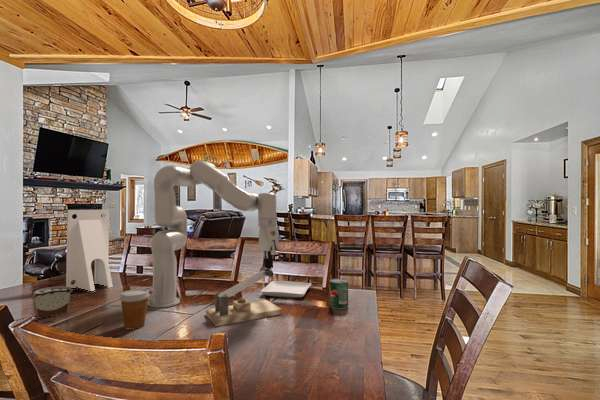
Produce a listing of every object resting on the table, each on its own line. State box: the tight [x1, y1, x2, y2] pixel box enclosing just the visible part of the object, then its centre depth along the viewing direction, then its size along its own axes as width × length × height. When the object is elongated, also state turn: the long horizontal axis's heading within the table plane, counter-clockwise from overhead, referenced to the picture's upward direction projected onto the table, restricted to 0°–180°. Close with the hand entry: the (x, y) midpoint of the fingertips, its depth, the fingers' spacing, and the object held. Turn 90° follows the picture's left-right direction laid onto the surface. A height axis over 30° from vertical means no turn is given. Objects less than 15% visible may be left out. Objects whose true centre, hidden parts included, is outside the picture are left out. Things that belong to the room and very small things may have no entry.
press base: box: [205, 291, 283, 327], centre depth 127 cm, size 26×14×9 cm, turn 121°
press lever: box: [217, 266, 274, 300], centre depth 128 cm, size 23×8×2 cm, turn 121°
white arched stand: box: [65, 209, 114, 292], centre depth 167 cm, size 20×14×40 cm
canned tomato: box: [329, 278, 349, 310], centre depth 139 cm, size 8×8×11 cm
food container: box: [32, 285, 73, 319], centre depth 126 cm, size 12×6×10 cm, turn 134°
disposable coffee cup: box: [119, 288, 151, 330], centre depth 114 cm, size 10×10×12 cm
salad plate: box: [260, 280, 312, 299], centre depth 160 cm, size 21×21×3 cm
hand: (268, 267), depth 133 cm, fingers closed
